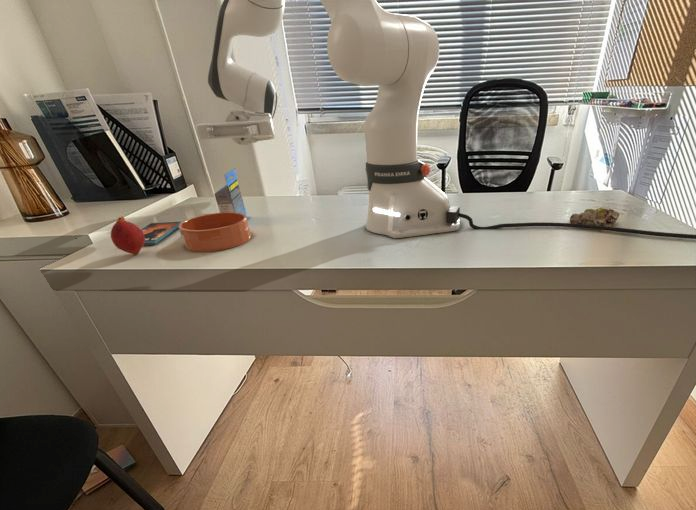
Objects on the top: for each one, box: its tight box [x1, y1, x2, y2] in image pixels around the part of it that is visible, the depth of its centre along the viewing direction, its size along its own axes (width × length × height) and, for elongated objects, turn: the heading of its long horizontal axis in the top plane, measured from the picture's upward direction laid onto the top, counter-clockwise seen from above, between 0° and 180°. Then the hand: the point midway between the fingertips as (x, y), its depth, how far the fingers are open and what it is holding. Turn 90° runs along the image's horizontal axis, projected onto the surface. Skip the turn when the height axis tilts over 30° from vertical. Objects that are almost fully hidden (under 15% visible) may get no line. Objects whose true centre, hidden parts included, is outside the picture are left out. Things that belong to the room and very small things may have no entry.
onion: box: [110, 215, 145, 256], centre depth 81 cm, size 6×6×8 cm
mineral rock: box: [569, 207, 620, 227], centre depth 88 cm, size 11×4×8 cm
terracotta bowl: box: [177, 212, 252, 253], centre depth 88 cm, size 14×14×4 cm
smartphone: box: [141, 221, 183, 246], centre depth 94 cm, size 8×1×15 cm
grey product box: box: [214, 168, 248, 219], centre depth 97 cm, size 9×4×12 cm, turn 5°
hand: (228, 132), depth 99 cm, fingers open, 8 cm apart
